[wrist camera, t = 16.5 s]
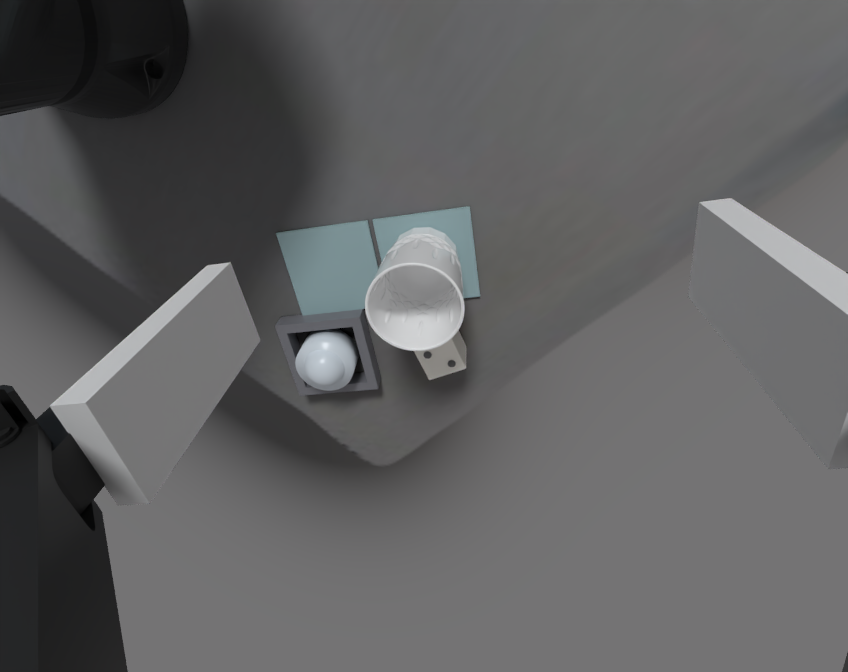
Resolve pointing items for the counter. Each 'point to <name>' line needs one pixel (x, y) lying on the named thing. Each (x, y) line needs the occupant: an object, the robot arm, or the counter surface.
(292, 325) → the frame
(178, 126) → the counter surface
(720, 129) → the counter surface
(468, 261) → the tile
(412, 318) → the white cup
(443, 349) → the die
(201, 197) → the counter surface
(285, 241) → the tile
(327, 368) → the dome
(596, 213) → the counter surface
